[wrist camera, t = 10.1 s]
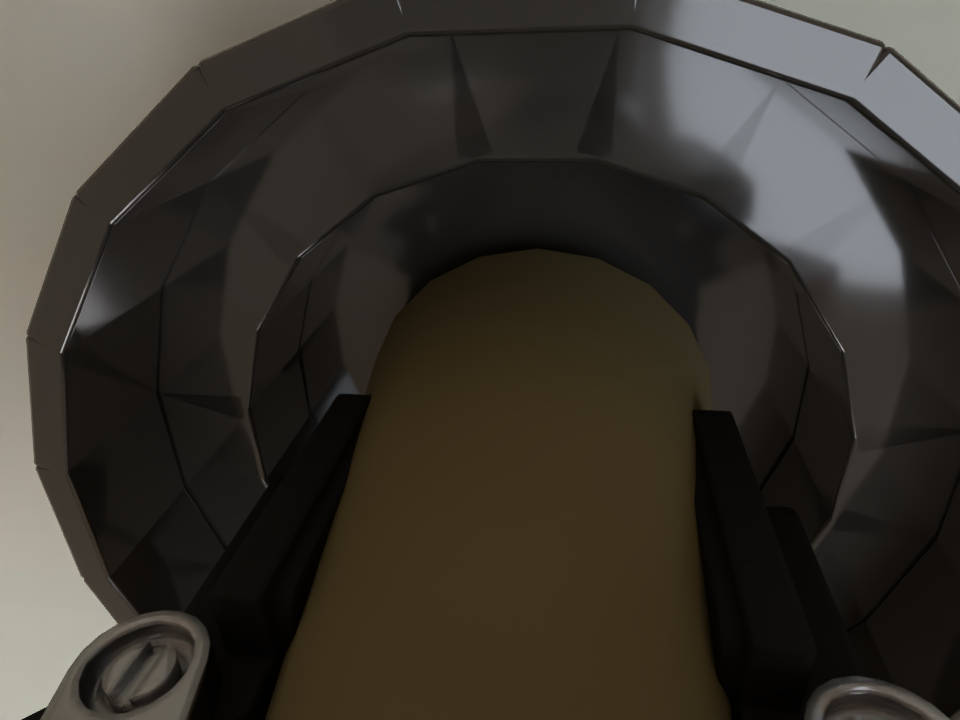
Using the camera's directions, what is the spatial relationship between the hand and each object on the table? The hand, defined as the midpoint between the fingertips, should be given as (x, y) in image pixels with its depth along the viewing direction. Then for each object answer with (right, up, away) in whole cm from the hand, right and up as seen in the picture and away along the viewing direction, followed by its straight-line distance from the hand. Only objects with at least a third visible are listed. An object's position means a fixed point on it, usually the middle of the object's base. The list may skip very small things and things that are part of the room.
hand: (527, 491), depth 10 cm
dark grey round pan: (+1, +2, +3) cm, 4 cm away
